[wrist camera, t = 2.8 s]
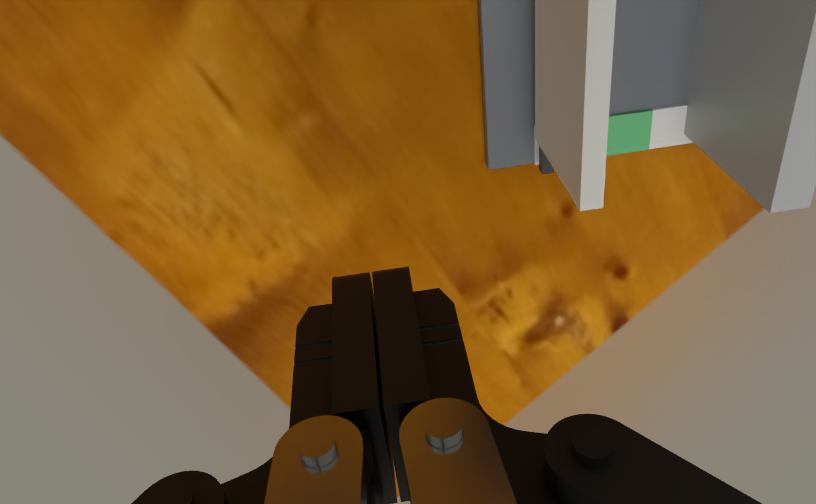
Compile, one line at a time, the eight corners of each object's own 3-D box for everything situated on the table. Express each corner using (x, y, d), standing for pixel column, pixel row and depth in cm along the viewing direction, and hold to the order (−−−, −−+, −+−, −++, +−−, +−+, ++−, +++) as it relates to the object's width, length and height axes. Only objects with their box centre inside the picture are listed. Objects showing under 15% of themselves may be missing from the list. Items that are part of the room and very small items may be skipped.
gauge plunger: (534, -73, 23) (590, -41, 18) (557, -76, 23) (619, -45, 18) (535, 169, 28) (578, 245, 23) (553, 166, 28) (600, 241, 23)
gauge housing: (472, -118, 23) (524, -92, 17) (752, -156, 23) (906, -143, 17) (486, 163, 29) (527, 260, 23) (707, 132, 30) (809, 218, 23)
